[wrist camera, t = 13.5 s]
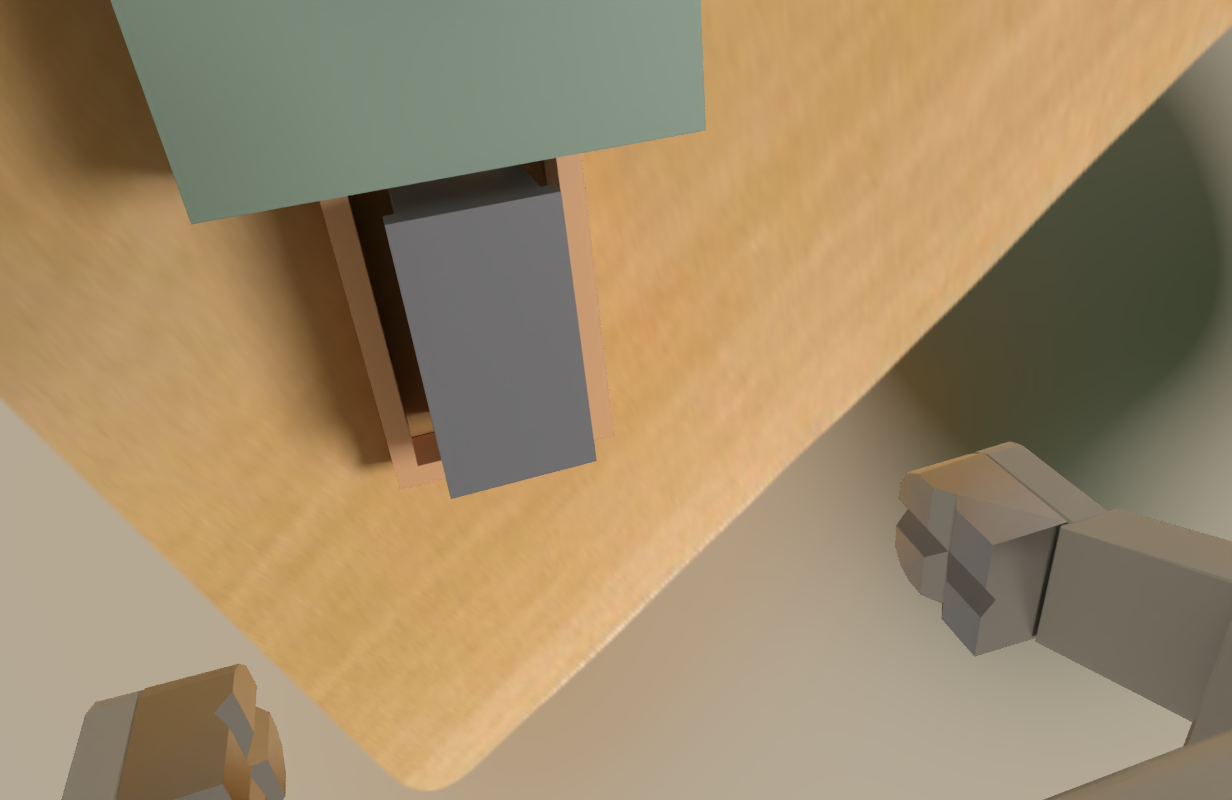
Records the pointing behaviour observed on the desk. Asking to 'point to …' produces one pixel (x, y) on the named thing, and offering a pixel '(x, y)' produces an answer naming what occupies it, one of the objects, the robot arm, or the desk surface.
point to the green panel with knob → (410, 121)
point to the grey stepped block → (493, 324)
